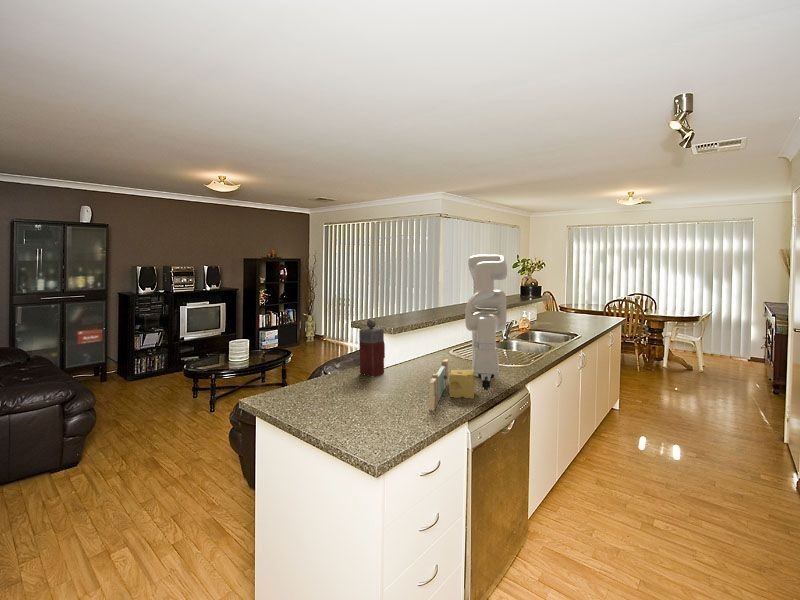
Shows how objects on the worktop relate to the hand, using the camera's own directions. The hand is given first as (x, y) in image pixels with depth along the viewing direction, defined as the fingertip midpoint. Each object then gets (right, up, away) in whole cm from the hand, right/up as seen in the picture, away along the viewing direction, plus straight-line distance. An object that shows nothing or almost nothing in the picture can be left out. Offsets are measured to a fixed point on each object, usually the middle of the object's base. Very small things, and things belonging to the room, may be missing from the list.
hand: (486, 389), depth 181 cm
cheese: (-10, -3, +3) cm, 11 cm away
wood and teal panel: (-19, -3, +3) cm, 20 cm away
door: (-19, -3, +3) cm, 20 cm away
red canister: (-50, 0, +40) cm, 64 cm away
